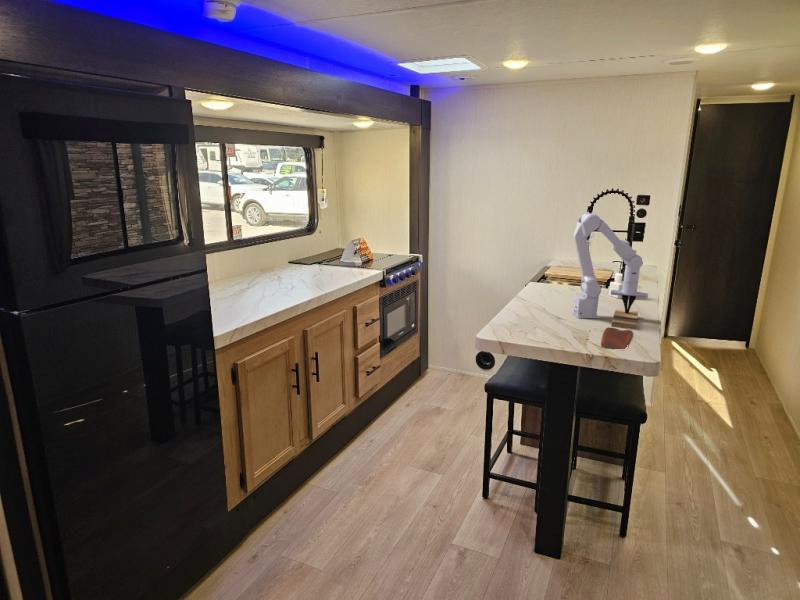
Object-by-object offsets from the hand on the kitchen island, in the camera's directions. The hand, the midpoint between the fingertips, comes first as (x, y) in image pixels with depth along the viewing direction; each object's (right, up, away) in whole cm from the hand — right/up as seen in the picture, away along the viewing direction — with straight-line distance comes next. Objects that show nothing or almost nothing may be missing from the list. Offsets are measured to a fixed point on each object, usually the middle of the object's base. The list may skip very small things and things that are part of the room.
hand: (626, 312), depth 225 cm
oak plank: (-1, -2, -1) cm, 2 cm away
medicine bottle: (+12, +7, +38) cm, 40 cm away
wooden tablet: (-16, -10, -28) cm, 34 cm away
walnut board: (-6, -5, -11) cm, 13 cm away
